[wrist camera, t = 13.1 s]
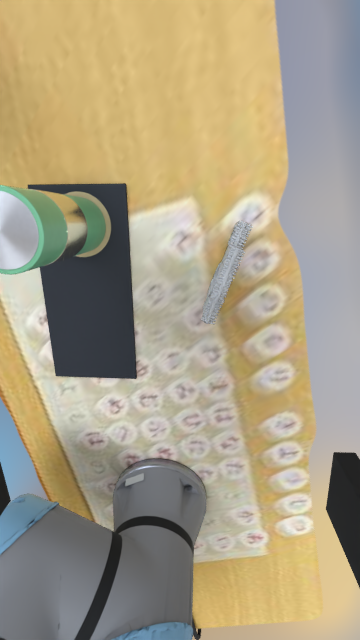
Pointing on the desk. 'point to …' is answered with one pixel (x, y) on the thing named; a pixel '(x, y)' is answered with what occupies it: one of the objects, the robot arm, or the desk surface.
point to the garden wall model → (225, 272)
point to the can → (45, 228)
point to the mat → (93, 294)
